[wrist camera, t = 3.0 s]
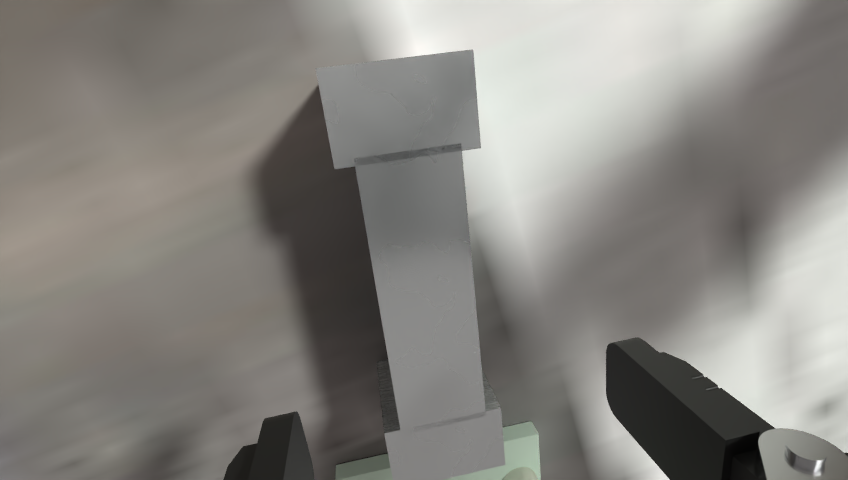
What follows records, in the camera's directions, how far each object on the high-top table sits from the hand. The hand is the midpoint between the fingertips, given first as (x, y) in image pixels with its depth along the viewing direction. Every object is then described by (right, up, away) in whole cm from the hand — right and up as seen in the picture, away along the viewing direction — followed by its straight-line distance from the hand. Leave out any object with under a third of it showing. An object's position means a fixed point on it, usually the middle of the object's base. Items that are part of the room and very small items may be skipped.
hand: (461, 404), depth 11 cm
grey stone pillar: (-2, +3, +9) cm, 10 cm away
